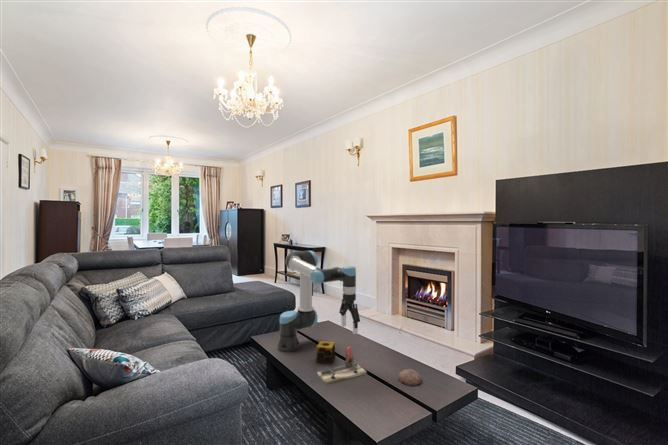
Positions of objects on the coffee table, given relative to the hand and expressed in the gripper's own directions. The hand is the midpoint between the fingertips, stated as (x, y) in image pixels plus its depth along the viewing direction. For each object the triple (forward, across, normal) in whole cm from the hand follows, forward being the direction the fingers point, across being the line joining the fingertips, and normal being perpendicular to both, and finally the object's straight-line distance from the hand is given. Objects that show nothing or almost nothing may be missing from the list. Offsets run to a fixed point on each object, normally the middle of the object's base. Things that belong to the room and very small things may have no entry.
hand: (349, 329), depth 187 cm
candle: (+23, -16, -7) cm, 29 cm away
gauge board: (+23, +4, -7) cm, 24 cm away
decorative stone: (+23, +26, +23) cm, 42 cm away
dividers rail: (+22, +4, -7) cm, 23 cm away
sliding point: (+21, +3, 0) cm, 22 cm away
